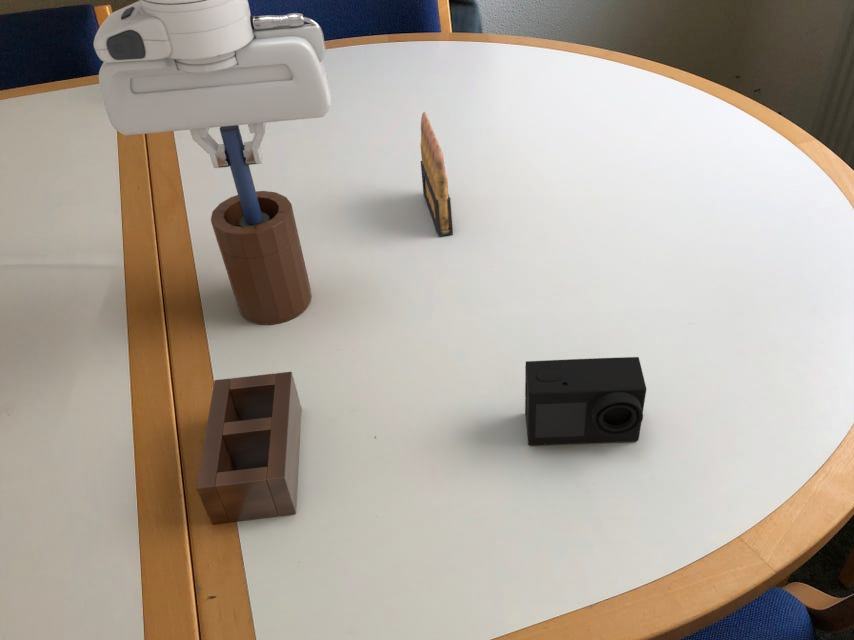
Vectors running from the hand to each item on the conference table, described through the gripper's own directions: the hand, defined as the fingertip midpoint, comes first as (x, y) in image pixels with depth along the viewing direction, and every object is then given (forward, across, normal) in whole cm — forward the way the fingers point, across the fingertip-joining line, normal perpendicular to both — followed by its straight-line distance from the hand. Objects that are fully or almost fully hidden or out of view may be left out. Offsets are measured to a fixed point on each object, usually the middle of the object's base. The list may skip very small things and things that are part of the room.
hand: (238, 163), depth 79 cm
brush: (+12, 0, 0) cm, 12 cm away
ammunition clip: (+18, -20, -15) cm, 31 cm away
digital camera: (+18, -30, +25) cm, 43 cm away
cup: (+18, 0, 0) cm, 18 cm away
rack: (+18, 0, +24) cm, 30 cm away
